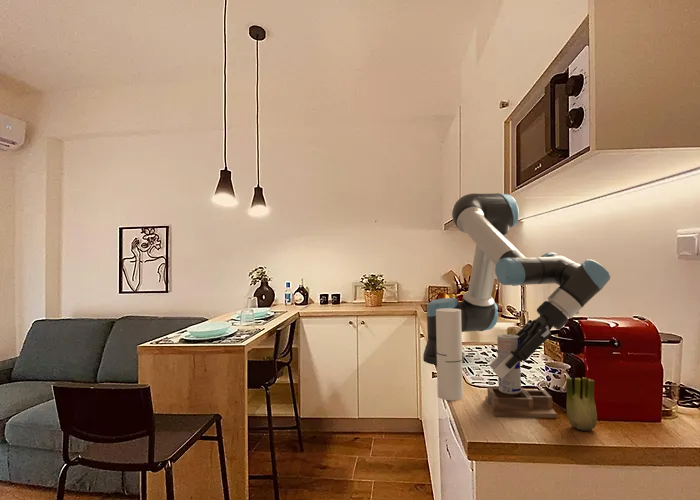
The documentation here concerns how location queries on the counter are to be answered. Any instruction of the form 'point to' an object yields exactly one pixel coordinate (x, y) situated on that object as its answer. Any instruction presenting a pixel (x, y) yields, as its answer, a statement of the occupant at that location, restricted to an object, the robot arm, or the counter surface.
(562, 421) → the counter surface
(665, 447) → the counter surface
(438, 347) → the cylindrical container
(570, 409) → the fennel bulb
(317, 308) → the counter surface
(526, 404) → the socket board
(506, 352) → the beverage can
